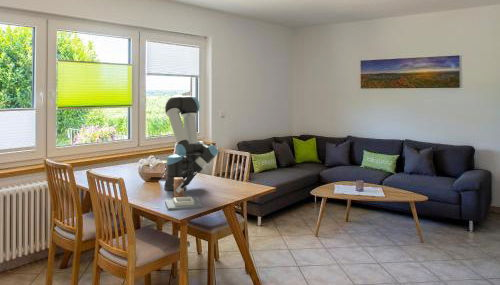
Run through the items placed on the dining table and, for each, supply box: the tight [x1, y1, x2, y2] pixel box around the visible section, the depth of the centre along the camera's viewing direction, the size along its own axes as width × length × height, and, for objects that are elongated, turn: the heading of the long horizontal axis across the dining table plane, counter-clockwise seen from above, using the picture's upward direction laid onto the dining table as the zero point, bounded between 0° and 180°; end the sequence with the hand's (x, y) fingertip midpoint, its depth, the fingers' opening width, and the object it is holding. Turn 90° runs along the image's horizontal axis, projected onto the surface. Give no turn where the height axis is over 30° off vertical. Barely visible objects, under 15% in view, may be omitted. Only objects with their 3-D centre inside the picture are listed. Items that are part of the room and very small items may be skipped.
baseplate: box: [164, 196, 204, 211], centre depth 239 cm, size 20×18×3 cm
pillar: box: [173, 177, 185, 198], centre depth 257 cm, size 6×6×12 cm
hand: (175, 189), depth 256 cm, fingers open, 13 cm apart
